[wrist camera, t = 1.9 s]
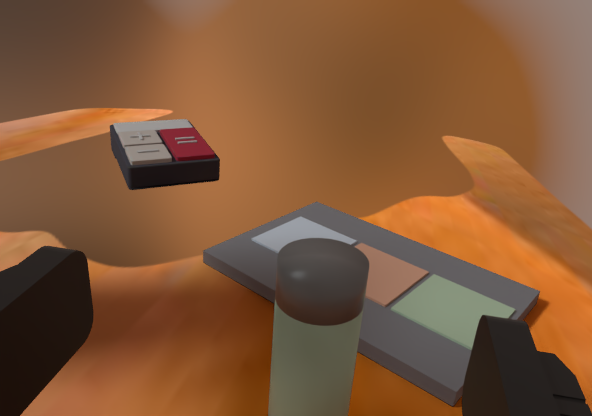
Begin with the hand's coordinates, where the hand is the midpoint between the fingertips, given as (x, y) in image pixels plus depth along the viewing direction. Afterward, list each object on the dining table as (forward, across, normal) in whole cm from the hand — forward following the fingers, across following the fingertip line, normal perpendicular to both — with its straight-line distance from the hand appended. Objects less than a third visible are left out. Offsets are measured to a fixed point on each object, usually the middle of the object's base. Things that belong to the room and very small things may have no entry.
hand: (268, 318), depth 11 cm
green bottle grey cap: (+11, 0, +18) cm, 21 cm away
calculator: (+53, +26, +18) cm, 61 cm away
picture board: (+31, -2, +18) cm, 36 cm away
